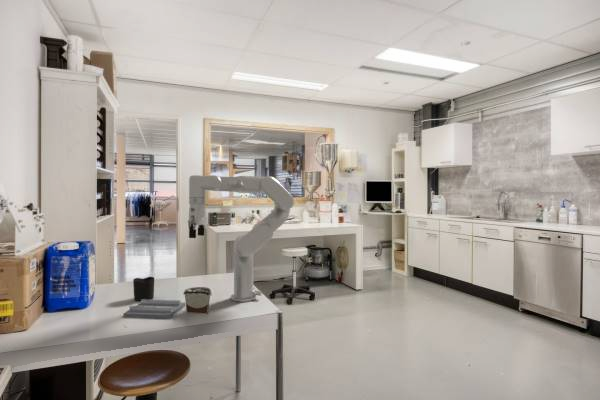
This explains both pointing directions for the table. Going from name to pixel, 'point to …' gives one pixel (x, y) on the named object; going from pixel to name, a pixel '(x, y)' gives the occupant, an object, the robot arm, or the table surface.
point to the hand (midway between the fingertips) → (196, 236)
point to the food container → (197, 300)
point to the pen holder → (143, 288)
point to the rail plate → (155, 308)
